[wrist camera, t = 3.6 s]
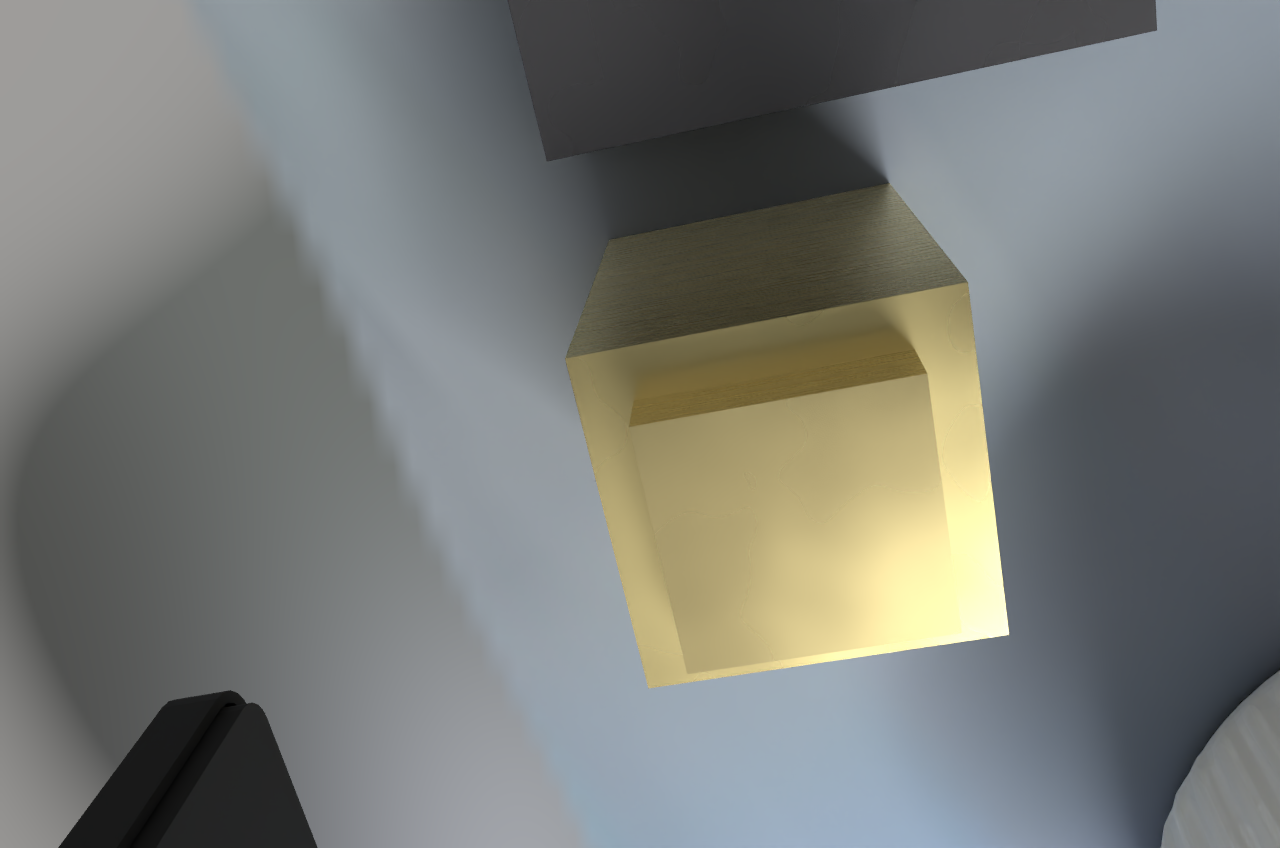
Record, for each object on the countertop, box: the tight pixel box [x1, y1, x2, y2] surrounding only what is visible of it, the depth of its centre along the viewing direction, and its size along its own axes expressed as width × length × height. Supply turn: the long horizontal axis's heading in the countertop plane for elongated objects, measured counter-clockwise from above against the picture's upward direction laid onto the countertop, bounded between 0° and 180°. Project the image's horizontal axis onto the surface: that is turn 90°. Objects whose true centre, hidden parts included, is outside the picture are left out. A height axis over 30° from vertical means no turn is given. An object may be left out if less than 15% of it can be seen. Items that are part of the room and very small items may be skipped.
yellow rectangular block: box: [565, 183, 1009, 688], centre depth 16 cm, size 4×4×7 cm
